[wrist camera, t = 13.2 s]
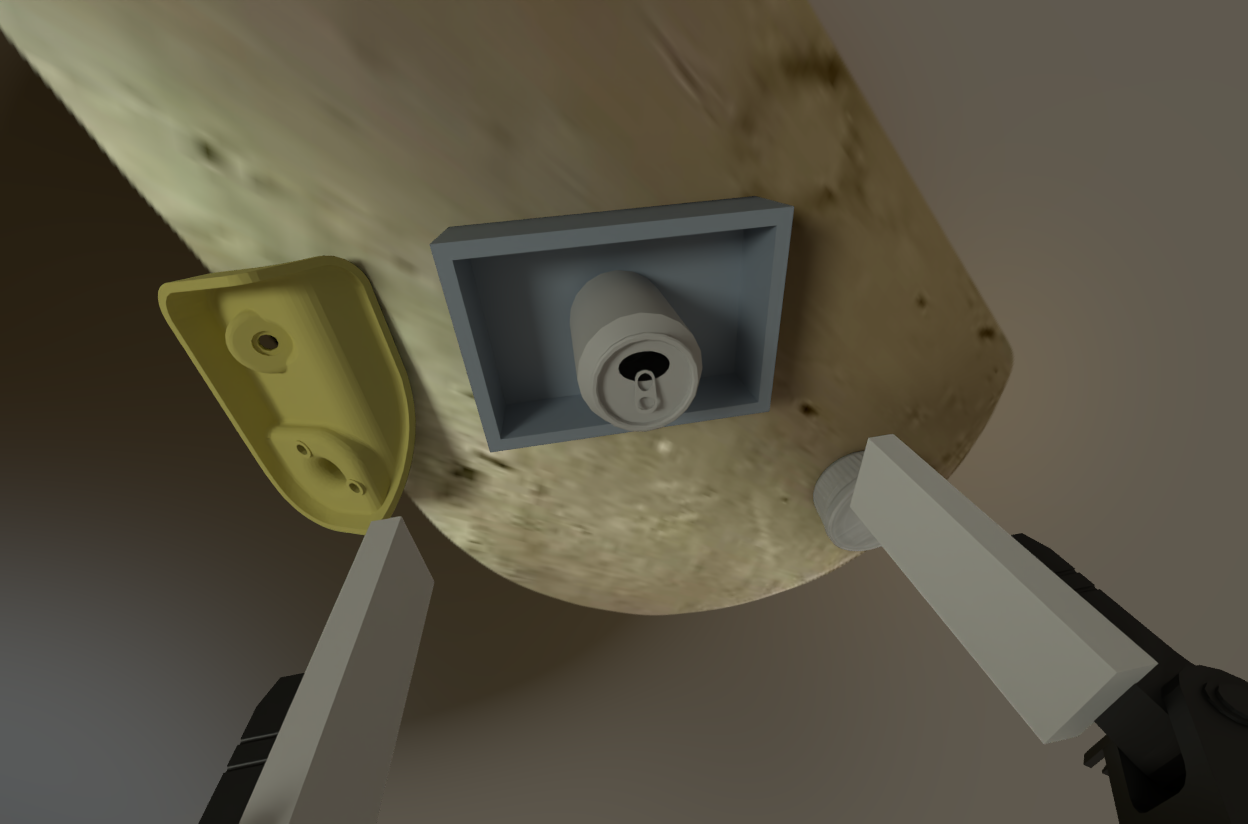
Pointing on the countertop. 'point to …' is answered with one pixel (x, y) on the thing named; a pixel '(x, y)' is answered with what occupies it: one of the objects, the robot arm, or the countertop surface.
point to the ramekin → (842, 505)
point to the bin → (581, 250)
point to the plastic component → (305, 382)
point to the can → (632, 352)
